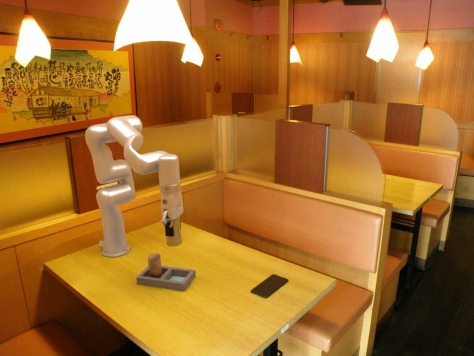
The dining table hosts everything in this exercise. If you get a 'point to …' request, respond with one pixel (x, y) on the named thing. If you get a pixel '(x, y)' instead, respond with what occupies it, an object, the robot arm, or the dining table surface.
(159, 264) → the walnut peg
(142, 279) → the slot rack
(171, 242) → the vase
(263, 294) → the smartphone
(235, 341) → the dining table surface
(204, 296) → the dining table surface
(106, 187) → the robot arm
